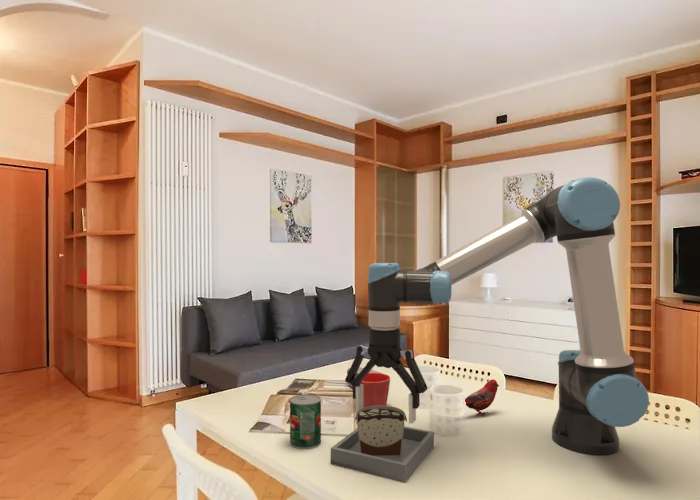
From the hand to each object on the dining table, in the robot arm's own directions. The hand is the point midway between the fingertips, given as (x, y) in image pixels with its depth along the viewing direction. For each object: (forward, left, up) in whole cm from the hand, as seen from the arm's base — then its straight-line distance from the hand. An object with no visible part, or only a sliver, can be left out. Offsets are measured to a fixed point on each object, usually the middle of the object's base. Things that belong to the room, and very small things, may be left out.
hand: (385, 417), depth 107 cm
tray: (0, 0, -9) cm, 9 cm away
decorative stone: (+27, -44, -9) cm, 53 cm away
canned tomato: (+21, +3, -9) cm, 23 cm away
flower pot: (+16, -28, -9) cm, 34 cm away
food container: (+1, +1, -8) cm, 8 cm away
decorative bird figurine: (-14, -36, -9) cm, 40 cm away
